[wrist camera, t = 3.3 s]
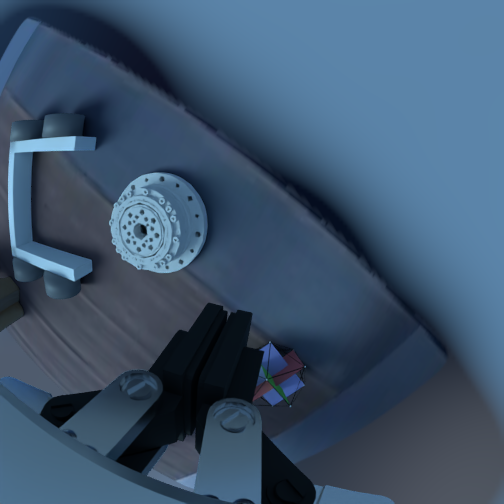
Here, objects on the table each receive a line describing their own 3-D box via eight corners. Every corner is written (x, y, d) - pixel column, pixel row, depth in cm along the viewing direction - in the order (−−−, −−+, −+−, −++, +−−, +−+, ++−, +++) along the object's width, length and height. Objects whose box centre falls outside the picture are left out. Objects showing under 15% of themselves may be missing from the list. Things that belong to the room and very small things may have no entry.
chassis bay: (93, 289, 31) (69, 305, 27) (30, 264, 33) (7, 274, 28) (99, 115, 25) (69, 111, 20) (30, 124, 26) (4, 124, 22)
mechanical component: (172, 151, 25) (109, 208, 28) (150, 150, 21) (83, 216, 24) (228, 237, 27) (156, 283, 30) (215, 250, 22) (136, 300, 25)
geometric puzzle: (300, 325, 25) (246, 389, 21) (333, 371, 26) (289, 432, 22) (257, 327, 31) (209, 376, 27) (288, 367, 32) (247, 416, 28)
